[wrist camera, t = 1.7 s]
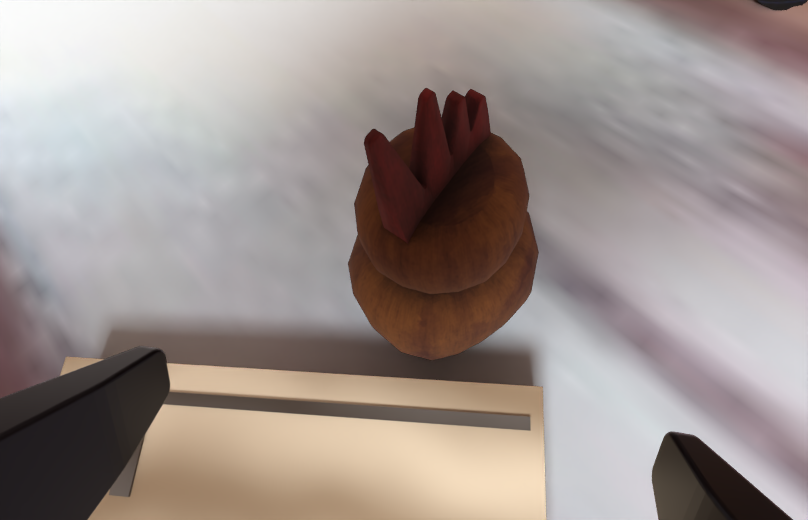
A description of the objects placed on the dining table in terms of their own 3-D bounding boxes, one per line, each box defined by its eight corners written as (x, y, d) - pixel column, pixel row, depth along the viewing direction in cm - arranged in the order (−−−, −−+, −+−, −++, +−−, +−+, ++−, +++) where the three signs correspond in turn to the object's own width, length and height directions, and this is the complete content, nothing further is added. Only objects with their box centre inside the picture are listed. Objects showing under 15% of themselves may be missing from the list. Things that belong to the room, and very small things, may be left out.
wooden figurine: (413, 396, 21) (349, 290, 7) (350, 289, 23) (206, 47, 9) (542, 315, 22) (702, 81, 8) (470, 218, 24) (501, -100, 10)
